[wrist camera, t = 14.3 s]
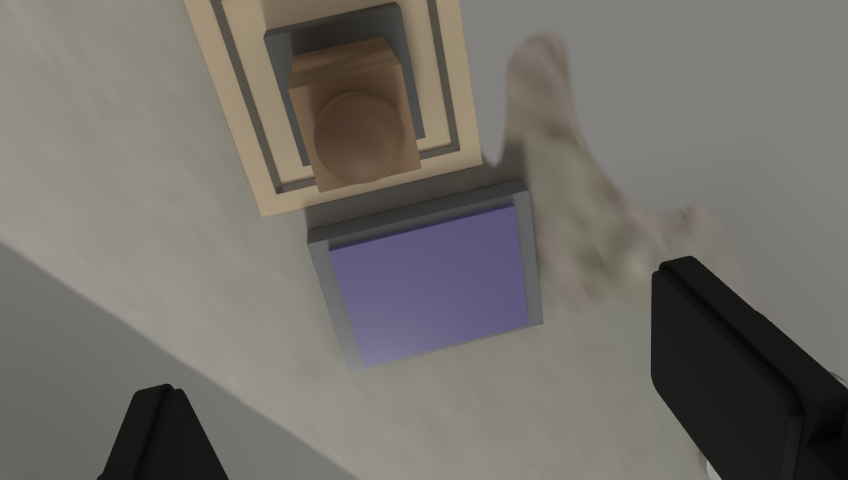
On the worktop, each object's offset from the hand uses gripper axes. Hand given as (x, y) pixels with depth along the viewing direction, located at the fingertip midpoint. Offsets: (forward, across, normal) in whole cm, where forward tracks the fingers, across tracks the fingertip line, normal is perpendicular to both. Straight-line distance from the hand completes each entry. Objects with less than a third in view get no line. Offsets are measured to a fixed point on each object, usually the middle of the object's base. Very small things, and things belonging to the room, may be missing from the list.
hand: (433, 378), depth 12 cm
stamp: (+20, 0, -2) cm, 20 cm away
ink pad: (+20, -2, +10) cm, 23 cm away
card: (+20, 0, -2) cm, 20 cm away
